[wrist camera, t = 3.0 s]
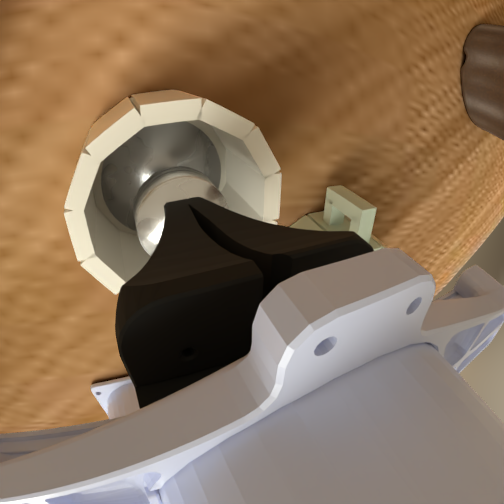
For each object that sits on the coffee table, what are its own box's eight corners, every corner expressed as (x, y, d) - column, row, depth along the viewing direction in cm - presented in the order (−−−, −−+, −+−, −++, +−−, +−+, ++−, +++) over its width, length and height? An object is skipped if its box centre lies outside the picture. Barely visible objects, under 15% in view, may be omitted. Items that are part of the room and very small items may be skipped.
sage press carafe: (346, 290, 30) (382, 327, 25) (260, 318, 26) (291, 367, 22) (370, 174, 23) (423, 204, 19) (265, 187, 20) (313, 227, 16)
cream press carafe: (66, 107, 13) (46, 124, 8) (235, 85, 16) (285, 94, 12) (106, 290, 19) (114, 354, 15) (236, 259, 22) (272, 311, 18)
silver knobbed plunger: (92, 128, 13) (83, 158, 9) (216, 110, 16) (264, 132, 11) (112, 239, 17) (120, 307, 13) (219, 217, 19) (260, 273, 15)
